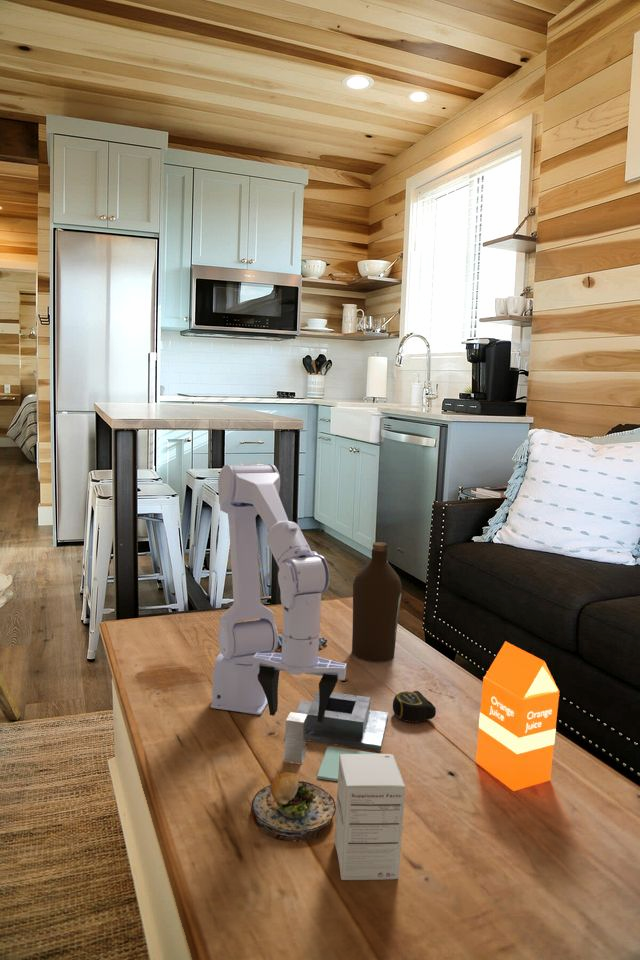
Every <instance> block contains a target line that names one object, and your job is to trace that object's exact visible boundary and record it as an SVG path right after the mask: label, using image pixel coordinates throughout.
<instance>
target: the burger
mask: <svg viewBox="0 0 640 960" xmlns="http://www.w3.org/2000/svg"><path fill="white" fill-rule="evenodd" d="M275 769H276V773H277V776H276V777H275V778H274V779H273V780H272V782H271V784H269V785H267V786H265V787H263V788H261V789H260V790H259V791H257V792H256V793H255V795H254V797H253V798H252V800H251V806H250V819H251V822H252V824H253V825H254V827H255V828H256V829H257V830H258V831H259V832H260V833H262V834H264V836H266V837H269V838H272V839H274V840H278V841H282V842H287V843H295V842H297V843H299V842H301V843H302V842H305V841H306V842H309V841H313V840H315V838H316V836H317V833H319V830H321V829H323V828H324V827H326V826H329V824H330V823H331V821H332V819H333V817H335V816H336V802H335V798H333V796H332V795H330V794H329V793H328V792H327V791H325V789H323V788H322V787H319V786H317V785H315V784H314V783H310V782H307V781H304V780H300V781H299V778H298V776H297V774H296V773H293V772H283V773H279V772H278V769H277V768H275Z"/></svg>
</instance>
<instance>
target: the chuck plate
mask: <svg viewBox="0 0 640 960" xmlns="http://www.w3.org/2000/svg"><path fill="white" fill-rule="evenodd" d="M318 710H319V689H318V690H317V691H316V692H315V695H314V697H313V700H312V701H307V700H300V702H299V704H298V707H297V708H296V711H295V712H294V713H301V714H307V732H306V741H307V740H310V741H309V742H314V741H316V742H315V743H320V742H322V744H327V743H328V745H334V744H337V745H336V746H341V745H343V747H347V746H348V748H354V749H355V748H356V749H361V750H369V751H376V752H381V749H382V745H383V741H384V737H385V732H386V728H387V722H388V718H389V717H388V716H389V712H388V711H381V710H374V709H373V710H372V709H371V696H364V695H355V694H348V693H341V692H332V693H331V695H330V697H329V700H328V703H327V706H326V710H325V716H324V719H323V722H318Z"/></svg>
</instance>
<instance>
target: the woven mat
mask: <svg viewBox="0 0 640 960" xmlns="http://www.w3.org/2000/svg"><path fill="white" fill-rule="evenodd" d="M328 645H329V644H328V639H325V637H319V650H322V649H325V648H326V647H327V646H328ZM275 651H277V652H279V653H282V634H281V635H280V636H279V635H278V645H277V647H276V649H275Z"/></svg>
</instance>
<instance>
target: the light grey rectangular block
mask: <svg viewBox="0 0 640 960" xmlns="http://www.w3.org/2000/svg"><path fill="white" fill-rule="evenodd" d="M306 732H307V714H301V713H295V712H293V711H290V712H289V714H288V715H287V717H286V719H285V735H284V736H285V739H284V756H283V757H284V759H283V762H284V761H286V762H285V763H288V762H293V763H292V764H294V763H300V764H299V765H301V764H303V762H304V760H303V759H305V758H306V751H307V749H306V747H307V740H306Z"/></svg>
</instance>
